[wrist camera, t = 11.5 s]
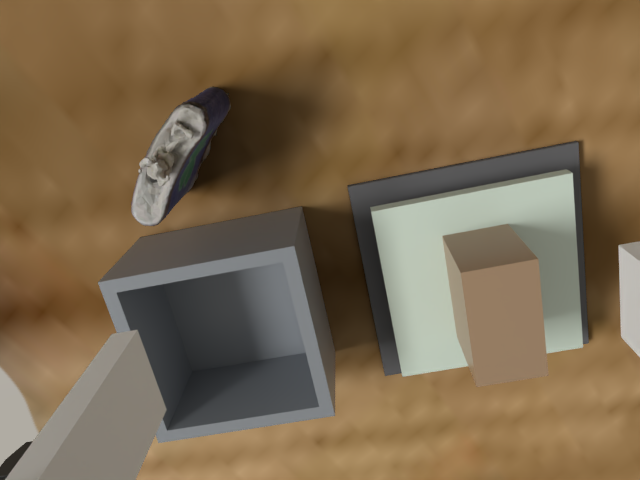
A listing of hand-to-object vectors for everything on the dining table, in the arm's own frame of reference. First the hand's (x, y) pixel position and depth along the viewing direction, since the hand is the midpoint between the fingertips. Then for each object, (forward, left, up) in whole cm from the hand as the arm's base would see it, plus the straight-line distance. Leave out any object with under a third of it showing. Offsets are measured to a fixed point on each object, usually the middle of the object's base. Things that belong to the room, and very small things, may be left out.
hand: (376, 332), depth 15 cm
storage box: (+12, -12, -31) cm, 35 cm away
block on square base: (+13, +8, -30) cm, 34 cm away
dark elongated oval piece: (-2, -12, -31) cm, 33 cm away
